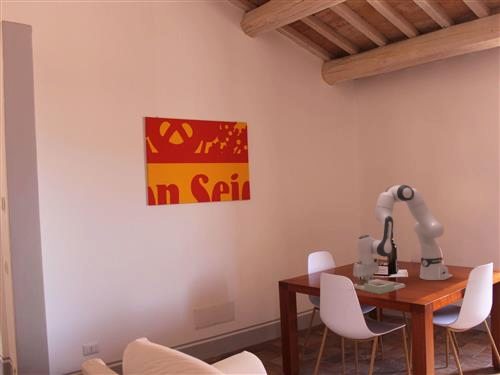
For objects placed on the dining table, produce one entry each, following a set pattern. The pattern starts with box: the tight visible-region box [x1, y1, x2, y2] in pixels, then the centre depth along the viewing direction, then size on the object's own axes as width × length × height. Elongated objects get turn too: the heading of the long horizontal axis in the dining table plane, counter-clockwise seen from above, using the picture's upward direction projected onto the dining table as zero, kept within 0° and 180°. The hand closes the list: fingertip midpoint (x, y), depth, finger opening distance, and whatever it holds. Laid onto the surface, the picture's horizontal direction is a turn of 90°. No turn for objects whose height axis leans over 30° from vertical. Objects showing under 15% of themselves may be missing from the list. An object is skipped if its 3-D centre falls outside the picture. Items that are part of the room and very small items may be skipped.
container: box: [358, 274, 375, 281], centre depth 318 cm, size 8×8×13 cm
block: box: [356, 278, 368, 286], centre depth 297 cm, size 5×5×3 cm
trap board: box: [353, 278, 406, 295], centre depth 294 cm, size 24×24×4 cm
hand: (366, 281), depth 299 cm, fingers closed
